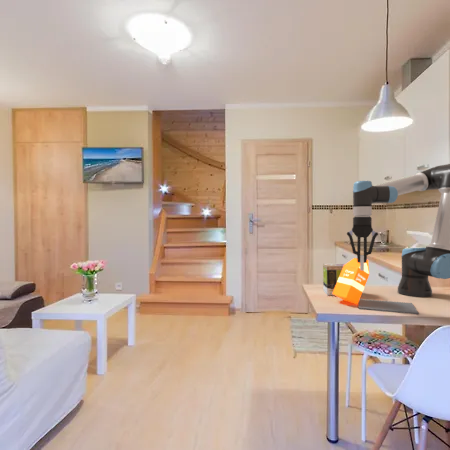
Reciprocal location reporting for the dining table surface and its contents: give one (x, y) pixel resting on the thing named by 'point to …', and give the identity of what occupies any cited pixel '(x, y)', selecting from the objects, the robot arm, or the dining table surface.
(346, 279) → the orange juice
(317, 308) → the dining table surface
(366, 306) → the mat
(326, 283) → the tea box
